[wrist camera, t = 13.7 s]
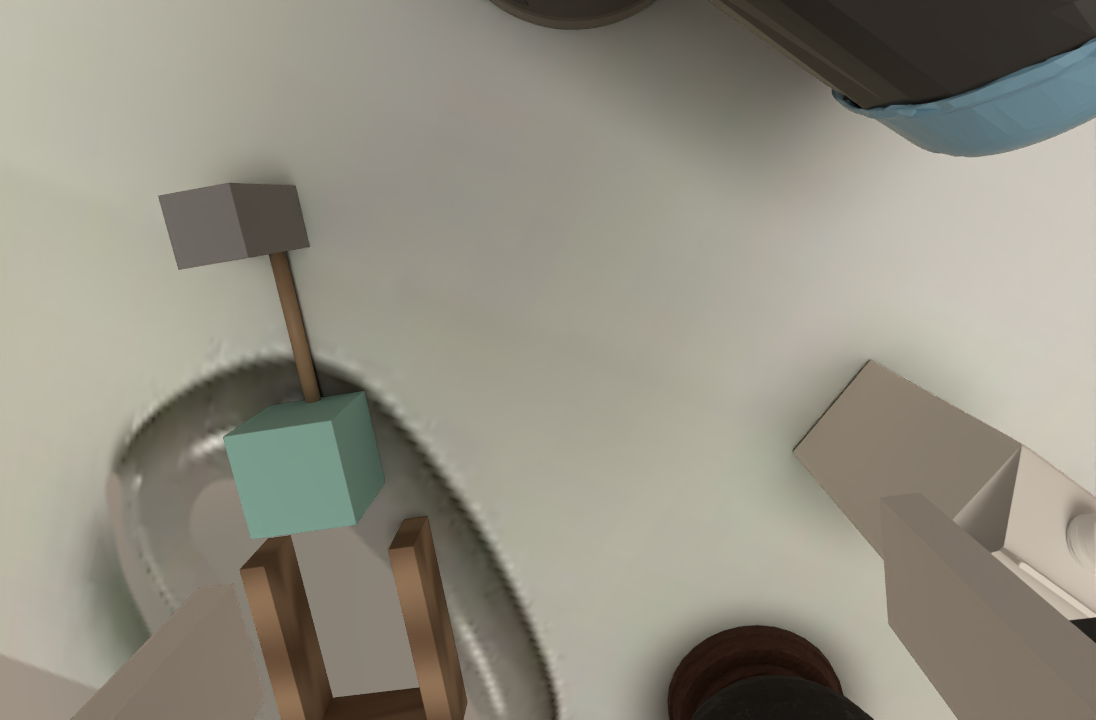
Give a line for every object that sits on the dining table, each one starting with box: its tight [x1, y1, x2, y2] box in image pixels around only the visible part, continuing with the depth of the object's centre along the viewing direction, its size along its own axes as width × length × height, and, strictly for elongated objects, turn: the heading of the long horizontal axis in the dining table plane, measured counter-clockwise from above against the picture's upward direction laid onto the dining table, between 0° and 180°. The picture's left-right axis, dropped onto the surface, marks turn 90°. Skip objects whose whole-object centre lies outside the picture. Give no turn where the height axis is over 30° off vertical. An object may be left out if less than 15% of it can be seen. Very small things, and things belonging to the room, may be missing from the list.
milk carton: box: [793, 361, 1096, 620], centre depth 34 cm, size 7×7×19 cm
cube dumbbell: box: [158, 183, 385, 539], centre depth 39 cm, size 18×6×8 cm, turn 9°
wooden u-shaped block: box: [240, 517, 467, 720], centre depth 45 cm, size 14×10×5 cm
